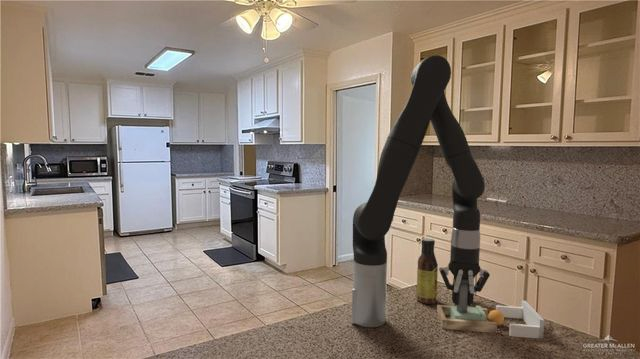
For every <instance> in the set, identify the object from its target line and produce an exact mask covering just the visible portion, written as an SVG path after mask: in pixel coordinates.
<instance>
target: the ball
mask: <svg viewBox="0 0 640 359" xmlns="http://www.w3.org/2000/svg"><path fill="white" fill-rule="evenodd" d="M487 319H488V320H489V321H488V322H496V323H497V326H500V325H502V324H503V323H504V321H505V317H504V316H503V314H502V313H501V312H500V311H498V310H496V309H492V310H490V311H489V313H488V314H487Z"/></svg>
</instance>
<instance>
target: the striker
mask: <svg viewBox="0 0 640 359" xmlns="http://www.w3.org/2000/svg"><path fill="white" fill-rule="evenodd" d="M468 286H469V280H467V279H461V282H460V285H459V289H458V293H459V294H458V305H449V306H450V315H449V317H450V319H461V320H474V321H487V318H488V315H487V316H486V314H485V313H484V311H483V310H482V308H483V307H482V306H481V305H475V307H476V308H475V307H473V306H468ZM486 317H487V318H486Z"/></svg>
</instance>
